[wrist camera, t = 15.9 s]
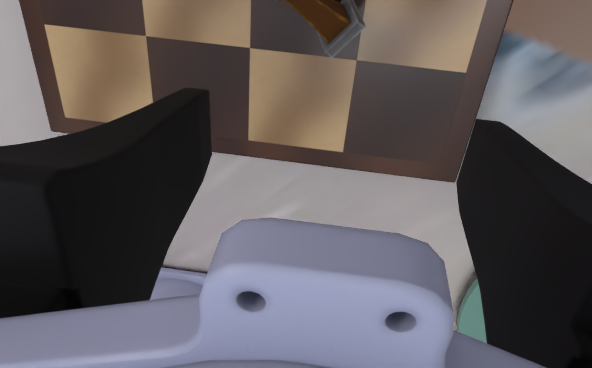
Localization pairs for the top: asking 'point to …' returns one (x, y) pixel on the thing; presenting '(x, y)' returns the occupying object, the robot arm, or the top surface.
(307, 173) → the top surface
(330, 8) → the wooden post with brackets
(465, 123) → the chessboard
